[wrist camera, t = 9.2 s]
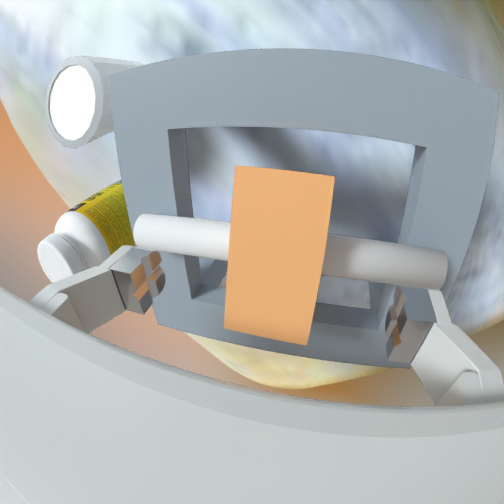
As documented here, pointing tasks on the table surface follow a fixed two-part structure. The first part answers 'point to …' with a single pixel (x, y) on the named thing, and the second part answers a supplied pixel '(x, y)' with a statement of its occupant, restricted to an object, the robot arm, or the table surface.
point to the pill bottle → (87, 234)
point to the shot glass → (82, 99)
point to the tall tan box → (276, 251)
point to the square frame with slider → (312, 118)
